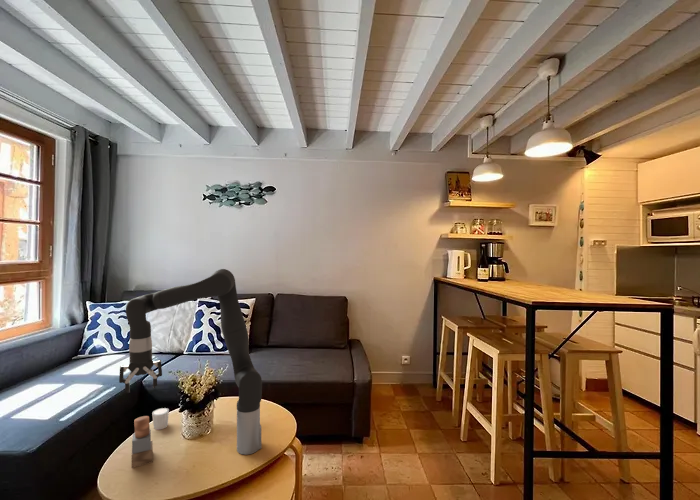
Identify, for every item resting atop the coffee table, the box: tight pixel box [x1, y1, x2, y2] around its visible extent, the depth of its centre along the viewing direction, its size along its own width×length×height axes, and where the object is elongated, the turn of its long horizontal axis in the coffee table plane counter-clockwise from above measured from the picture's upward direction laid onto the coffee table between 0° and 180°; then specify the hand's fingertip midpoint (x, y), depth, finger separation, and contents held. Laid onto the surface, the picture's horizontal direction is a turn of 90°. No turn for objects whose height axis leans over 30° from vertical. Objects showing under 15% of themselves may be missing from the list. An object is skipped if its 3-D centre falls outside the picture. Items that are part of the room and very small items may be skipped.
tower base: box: [130, 440, 154, 469], centre depth 140 cm, size 7×7×5 cm
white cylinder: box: [151, 407, 170, 431], centre depth 164 cm, size 7×7×7 cm
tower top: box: [131, 429, 152, 455], centre depth 139 cm, size 6×6×5 cm
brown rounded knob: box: [133, 415, 151, 438], centre depth 139 cm, size 5×5×6 cm
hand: (141, 389), depth 138 cm, fingers open, 8 cm apart
